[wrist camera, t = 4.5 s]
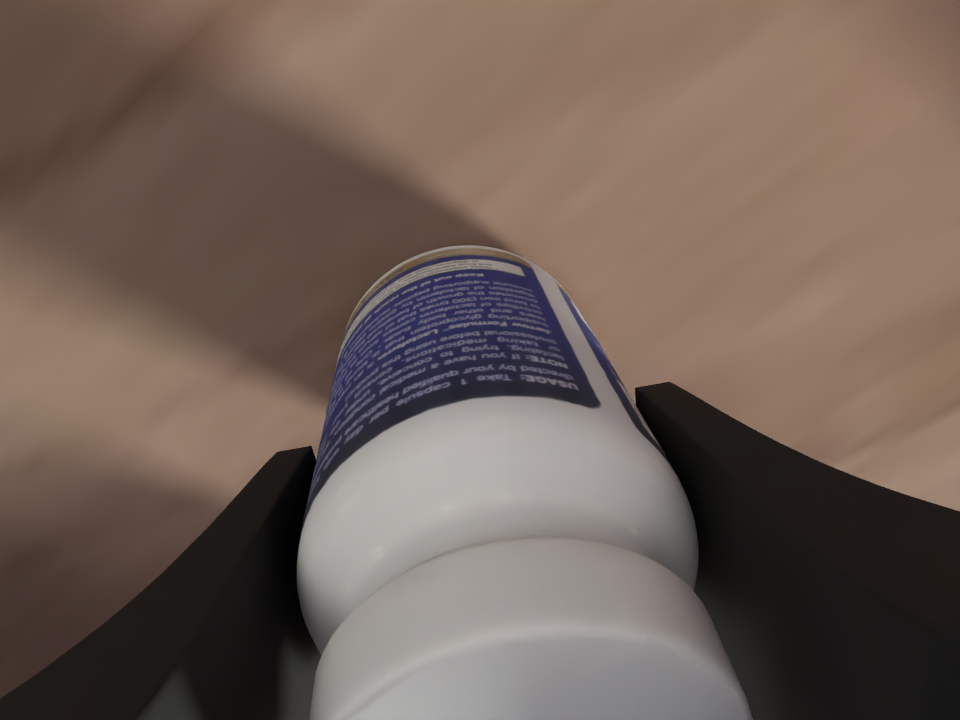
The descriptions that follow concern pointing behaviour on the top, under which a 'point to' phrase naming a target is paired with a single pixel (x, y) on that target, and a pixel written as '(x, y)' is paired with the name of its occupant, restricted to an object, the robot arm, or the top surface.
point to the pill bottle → (497, 517)
